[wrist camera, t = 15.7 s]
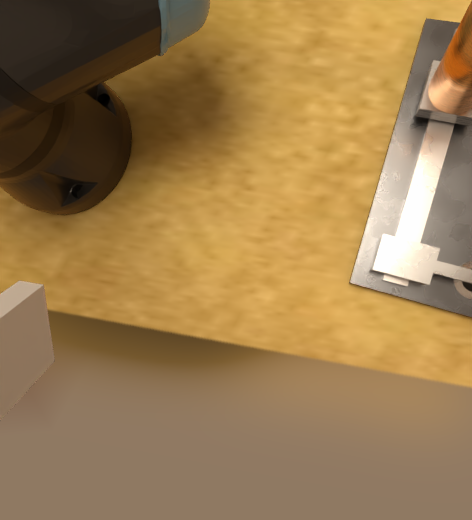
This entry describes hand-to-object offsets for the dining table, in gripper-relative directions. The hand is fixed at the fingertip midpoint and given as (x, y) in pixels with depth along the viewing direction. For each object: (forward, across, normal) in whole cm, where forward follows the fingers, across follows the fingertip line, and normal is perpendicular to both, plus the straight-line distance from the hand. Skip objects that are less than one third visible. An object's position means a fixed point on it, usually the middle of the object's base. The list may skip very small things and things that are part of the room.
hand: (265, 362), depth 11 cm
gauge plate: (+29, +13, 0) cm, 32 cm away
